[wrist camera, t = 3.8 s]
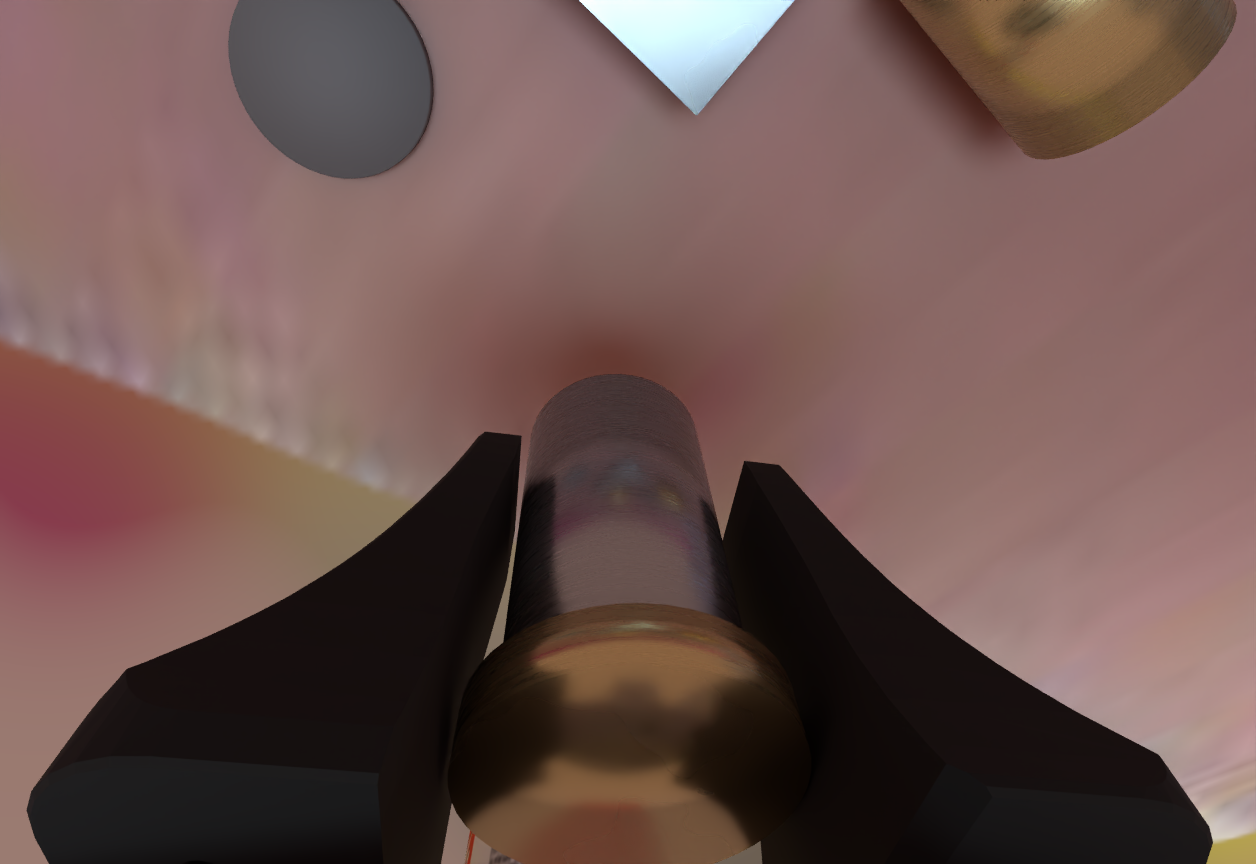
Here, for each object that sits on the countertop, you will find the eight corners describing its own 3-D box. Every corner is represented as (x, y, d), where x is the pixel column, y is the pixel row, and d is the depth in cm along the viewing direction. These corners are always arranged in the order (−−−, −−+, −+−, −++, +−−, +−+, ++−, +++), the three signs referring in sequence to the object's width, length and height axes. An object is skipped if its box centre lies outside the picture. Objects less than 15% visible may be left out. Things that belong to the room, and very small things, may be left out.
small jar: (761, 437, 14) (884, 767, 8) (623, 559, 15) (643, 911, 9) (602, 310, 12) (613, 602, 6) (466, 459, 14) (375, 805, 8)
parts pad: (470, 64, 16) (467, 66, 16) (371, 211, 18) (367, 216, 18) (293, -92, 15) (285, -94, 14) (204, 86, 16) (195, 88, 16)
